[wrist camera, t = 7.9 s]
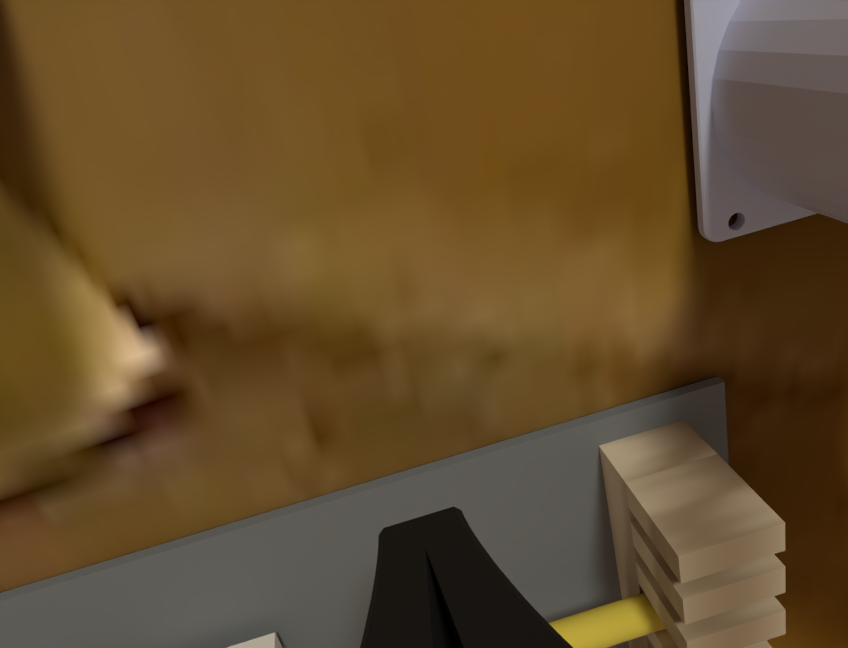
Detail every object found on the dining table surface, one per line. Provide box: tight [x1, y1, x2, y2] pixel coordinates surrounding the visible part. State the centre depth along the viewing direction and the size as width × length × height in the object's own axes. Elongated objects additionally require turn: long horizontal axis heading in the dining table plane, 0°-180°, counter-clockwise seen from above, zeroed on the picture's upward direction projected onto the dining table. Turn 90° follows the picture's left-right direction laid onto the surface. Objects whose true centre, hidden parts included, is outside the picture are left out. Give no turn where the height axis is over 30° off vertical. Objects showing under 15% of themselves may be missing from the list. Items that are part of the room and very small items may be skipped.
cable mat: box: [0, 376, 729, 648], centre depth 24 cm, size 27×12×1 cm, turn 104°
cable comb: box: [599, 420, 786, 648], centre depth 22 cm, size 3×10×5 cm, turn 14°
